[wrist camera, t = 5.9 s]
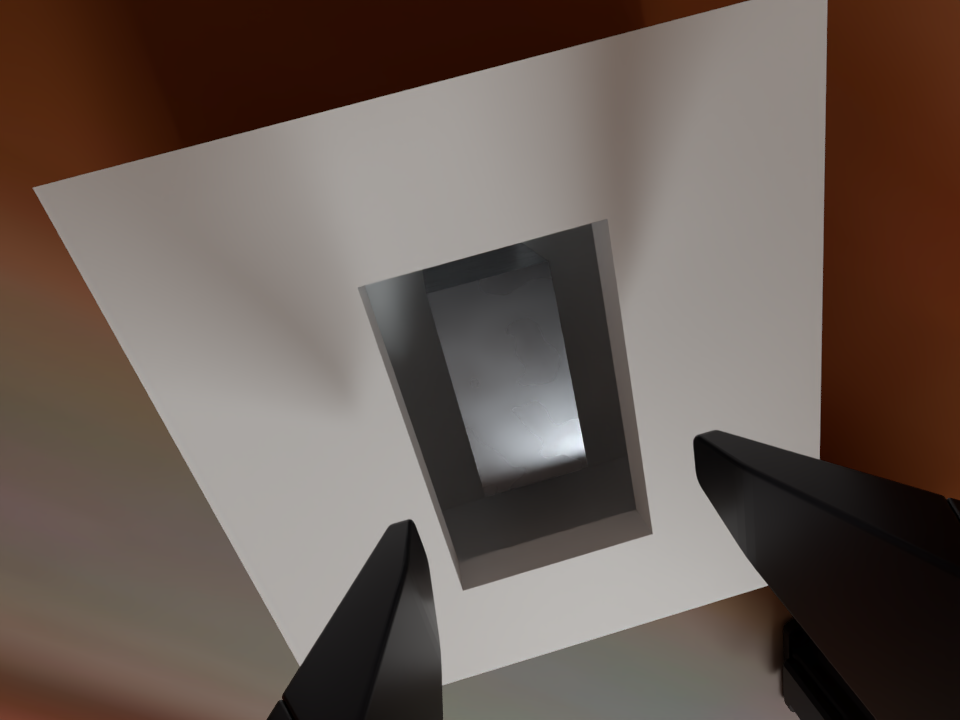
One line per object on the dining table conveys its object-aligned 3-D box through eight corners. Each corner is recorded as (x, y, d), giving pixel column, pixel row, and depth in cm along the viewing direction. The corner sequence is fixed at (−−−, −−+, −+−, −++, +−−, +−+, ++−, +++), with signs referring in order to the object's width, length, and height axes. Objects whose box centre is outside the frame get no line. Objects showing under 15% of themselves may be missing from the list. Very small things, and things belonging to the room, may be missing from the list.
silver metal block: (514, 238, 16) (548, 260, 12) (550, 405, 18) (588, 467, 14) (421, 263, 16) (426, 294, 12) (468, 428, 18) (485, 497, 14)
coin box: (649, 57, 15) (827, -20, 9) (689, 443, 21) (817, 570, 14) (194, 177, 15) (33, 188, 8) (353, 541, 20) (329, 719, 14)
